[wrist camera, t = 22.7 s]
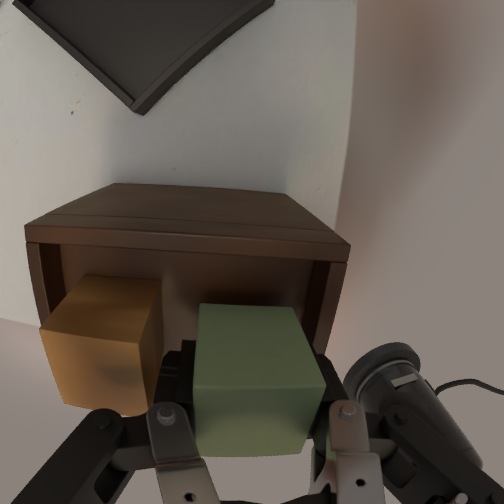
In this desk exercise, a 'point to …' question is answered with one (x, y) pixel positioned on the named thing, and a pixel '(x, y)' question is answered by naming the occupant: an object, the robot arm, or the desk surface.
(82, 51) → the tray
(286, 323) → the sage block
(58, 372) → the oak block
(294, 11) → the desk surface
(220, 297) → the stand
